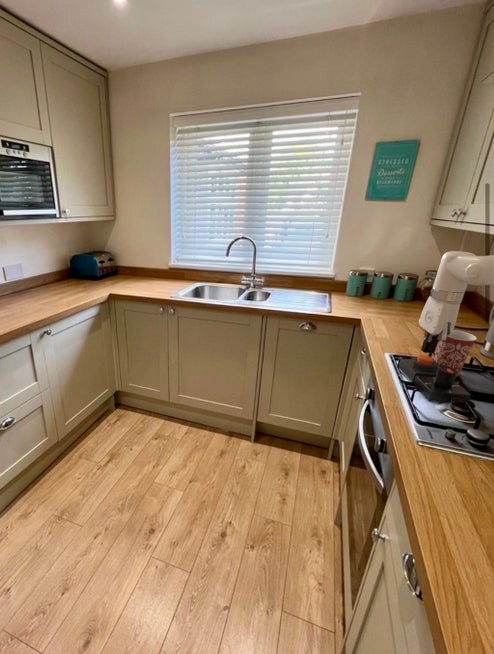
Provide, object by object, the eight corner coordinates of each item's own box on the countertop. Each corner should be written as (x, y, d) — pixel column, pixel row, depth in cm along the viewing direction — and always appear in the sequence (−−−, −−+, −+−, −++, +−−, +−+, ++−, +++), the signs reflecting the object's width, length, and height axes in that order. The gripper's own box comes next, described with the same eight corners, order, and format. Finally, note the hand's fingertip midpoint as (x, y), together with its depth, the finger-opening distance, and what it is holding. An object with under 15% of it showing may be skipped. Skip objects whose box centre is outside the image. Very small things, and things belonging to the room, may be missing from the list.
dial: (429, 380, 97) (435, 364, 95) (446, 381, 97) (452, 365, 95) (437, 388, 93) (443, 371, 91) (455, 389, 93) (461, 373, 91)
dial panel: (448, 387, 100) (452, 378, 98) (467, 404, 91) (471, 394, 90) (413, 384, 101) (415, 375, 100) (428, 400, 93) (431, 391, 92)
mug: (466, 381, 103) (481, 342, 98) (431, 375, 106) (444, 336, 101) (455, 364, 113) (468, 328, 108) (424, 359, 117) (435, 324, 112)
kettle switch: (428, 360, 106) (429, 355, 105) (434, 366, 102) (436, 361, 102) (414, 359, 107) (416, 354, 106) (420, 365, 103) (422, 360, 102)
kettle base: (427, 369, 110) (431, 355, 108) (444, 384, 101) (449, 370, 99) (398, 367, 111) (402, 353, 110) (412, 382, 102) (417, 367, 100)
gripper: (419, 288, 103) (403, 341, 111) (446, 302, 90) (426, 361, 97) (446, 289, 102) (428, 343, 109) (477, 303, 89) (454, 364, 96)
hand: (427, 351), depth 103 cm, fingers closed
